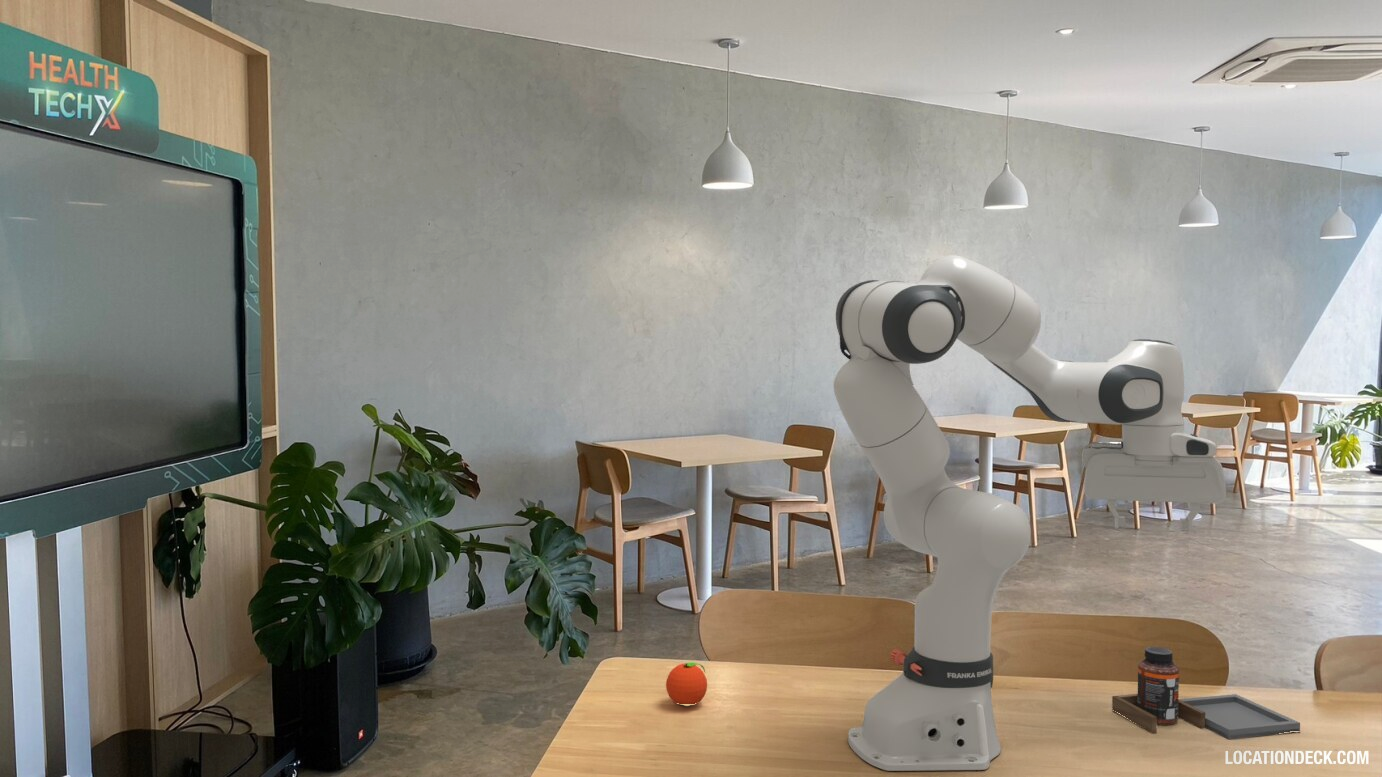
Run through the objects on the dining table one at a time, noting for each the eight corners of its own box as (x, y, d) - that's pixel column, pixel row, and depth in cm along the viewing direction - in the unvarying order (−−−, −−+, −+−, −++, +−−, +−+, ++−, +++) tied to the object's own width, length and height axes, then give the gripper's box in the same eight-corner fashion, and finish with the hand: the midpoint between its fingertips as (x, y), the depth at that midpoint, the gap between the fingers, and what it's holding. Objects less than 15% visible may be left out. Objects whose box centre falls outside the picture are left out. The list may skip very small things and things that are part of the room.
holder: (1152, 733, 149) (1152, 717, 149) (1112, 710, 158) (1112, 696, 158) (1205, 728, 151) (1205, 712, 151) (1162, 706, 160) (1162, 691, 160)
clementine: (690, 693, 166) (690, 652, 166) (720, 703, 162) (720, 661, 161) (657, 705, 161) (657, 663, 160) (686, 716, 156) (687, 673, 156)
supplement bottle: (1183, 727, 151) (1184, 656, 151) (1142, 725, 152) (1143, 654, 152) (1172, 714, 157) (1173, 645, 157) (1133, 711, 158) (1134, 643, 158)
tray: (1229, 739, 146) (1229, 729, 146) (1168, 709, 159) (1169, 700, 159) (1299, 732, 149) (1300, 722, 149) (1235, 702, 162) (1235, 694, 162)
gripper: (1082, 443, 152) (1082, 529, 152) (1228, 445, 145) (1227, 536, 145) (1081, 439, 158) (1081, 522, 158) (1221, 441, 151) (1220, 528, 151)
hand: (1152, 529), depth 152 cm, fingers open, 8 cm apart
